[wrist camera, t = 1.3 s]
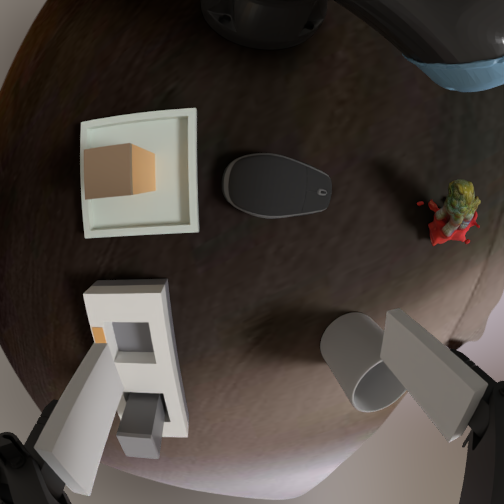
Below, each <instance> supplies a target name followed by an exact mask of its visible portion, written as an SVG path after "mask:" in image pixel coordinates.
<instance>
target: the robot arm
mask: <svg viewBox="0 0 504 504" xmlns="http://www.w3.org/2000/svg"><path fill="white" fill-rule="evenodd" d="M334 1H336V2H337V3H339V4H340V5H342V6H343V7H345V8H346V9H347V10H349V11H350V12H352V13H353V14H355V15H356V16H357V17H359V18H360V19H362V20H363V21H364V22H366V23H367V24H368V25H370V26H371V27H372V28H374V29H375V30H376V31H377V32H379V33H380V34H381V35H382V36H384V37H385V38H386V39H387V40H388V41H390V42H391V43H392V44H393V45H394V46H395V47H396V48H397V49H399V50H400V51H401V52H402V55H403V56H404V57H405V58H406V59H407V60H408V61H410V62H411V63H413V64H415V65H416V66H417V67H419V68H420V69H421V70H422V71H423V72H424V73H425V74H426V75H427V76H428V77H430V78H431V79H432V80H433V81H434V82H435V83H436V84H438V85H440V86H441V87H443V88H446V89H449V90H457V91H459V92H476V91H482V90H487V89H490V88H494V87H496V86H499V85H502V84H504V0H334ZM201 10H202V14H203V16H204V18H205V20H206V22H207V23H208V24H209V26H210V27H211V28H212V29H213V30H214V31H215V32H217V33H218V34H219V35H221V36H222V37H224V38H226V39H227V40H229V41H231V42H234V43H236V44H239V45H242V46H246V47H250V48H255V49H264V50H275V49H284V48H289V47H293V46H296V45H298V44H300V43H302V42H304V41H306V40H307V39H309V38H310V37H311V36H312V35H313V34H314V33H315V32H316V31H317V29H318V28H319V27H320V25H321V24H322V22H323V21H324V18H325V16H326V12H327V0H201ZM380 358H381V359H382V360H383V361H384V363H385V364H386V365H387V366H388V368H389V369H390V370H391V371H392V372H393V374H394V375H395V376H396V377H397V378H398V380H399V381H400V382H401V383H402V385H403V386H404V387H405V388H406V390H407V391H408V392H409V393H410V394H411V396H412V397H413V398H414V399H415V400H416V402H417V403H418V404H419V406H420V407H421V408H422V409H423V411H424V412H425V413H426V414H427V416H428V417H429V418H430V419H431V421H432V422H433V423H434V425H435V426H436V427H437V428H438V430H439V431H440V432H441V434H442V435H443V436H444V437H445V439H446V440H447V441H448V443H449V442H451V441H453V440H454V439H456V438H458V437H460V436H461V435H462V434H463V433H464V431H465V429H466V428H467V426H468V425H469V426H470V427H471V429H472V430H471V431H470V433H469V435H468V436H467V438H466V440H465V441H464V443H463V446H462V447H465V445H466V444H467V442H468V441H469V443H468V452H467V462H466V468H465V475H464V482H463V487H462V492H461V497H460V502H459V504H504V381H500V382H498V383H497V382H495V381H494V380H493V379H492V378H491V377H490V376H489V375H487V374H486V373H485V372H484V371H483V370H482V369H480V368H479V367H478V366H476V365H475V363H474V362H472V361H470V359H469V358H468V357H466V356H465V355H464V354H463V353H461V352H459V351H457V350H455V349H450V350H449V349H448V348H447V347H446V346H445V345H443V344H442V343H441V342H440V341H439V340H438V339H436V338H435V337H434V336H433V335H432V334H430V333H429V332H428V331H427V330H426V329H424V328H423V327H422V326H421V325H420V324H418V323H417V322H416V321H415V320H413V319H412V318H411V317H410V316H409V315H407V314H406V313H405V312H404V311H402V310H401V309H400V308H398V309H394V310H389V311H387V314H386V322H385V329H384V336H383V342H382V348H381V354H380ZM123 391H124V386H123V384H122V381H121V379H120V376H119V374H118V371H117V368H116V366H115V363H114V360H113V357H112V355H111V352H110V349H109V346H108V343H93V345H92V346H91V348H90V350H89V351H88V353H87V354H86V356H85V358H84V359H83V361H82V362H81V364H80V366H79V367H78V369H77V370H76V372H75V374H74V375H73V377H72V379H71V380H70V382H69V384H68V386H67V387H66V389H65V391H64V392H63V394H62V396H61V398H60V399H59V400H53V401H51V402H50V403H49V404H48V405H47V406H46V407H45V408H44V410H43V412H42V414H41V417H39V419H38V421H37V424H35V426H34V428H33V430H32V431H31V433H30V435H29V437H28V439H27V441H26V443H25V445H23V444H22V443H21V441H20V440H19V439H18V438H17V436H16V435H14V434H13V433H10V432H4V433H1V434H0V504H71V502H70V500H69V498H68V496H67V494H66V493H65V492H64V491H63V489H64V486H65V484H66V485H67V486H68V487H69V489H71V491H72V492H75V493H79V494H83V495H87V496H90V494H91V491H92V487H93V483H94V480H95V476H96V473H97V469H98V466H99V463H100V459H101V456H102V453H103V450H104V446H105V443H106V440H107V437H108V434H109V431H110V428H111V425H112V422H113V419H114V416H115V413H116V410H117V408H118V405H119V402H120V399H121V396H122V393H123Z"/></svg>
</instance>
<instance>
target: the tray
mask: <svg viewBox="0 0 504 504" xmlns="http://www.w3.org/2000/svg"><path fill="white" fill-rule="evenodd" d="M125 143H131V144H133V145H136V146H138V147H140V148H143V149H145V150H147V151H150V152H152V153H154V154H155V180H156V191H151V192H146V193H140V194H135V195H128V196H117V197H106V198H97V199H87V200H85V190H84V149H90V148H96V147H103V146H110V145H117V144H125ZM80 176H81V199H82V213H83V224H84V234H85V238H98V237H114V236H132V235H150V234H169V233H191V232H198V231H199V212H198V180H197V110H196V108H187V109H173V110H162V111H152V112H143V113H134V114H127V115H120V116H113V117H107V118H101V119H96V120H90V121H85V122H81V137H80Z"/></svg>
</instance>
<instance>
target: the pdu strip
mask: <svg viewBox="0 0 504 504" xmlns="http://www.w3.org/2000/svg"><path fill="white" fill-rule="evenodd" d="M83 297H84V302H85V306H86V311H87V315H88V319H89V324H90V328H91V332H92V335H93V339H94V343H108V346H109V349H110V352H111V355H112V357H113V360H114V363H115V366H116V368H117V371H118V374H119V376H120V379H121V381H122V384H123V386H124V391H123V393H122V396H121V399H120V402H119V405H118V408H117V412H118V414H119V417H120V419H121V418H122V415H123V412H124V409H125V406H126V403H127V400H128V397H129V394H130V392H137V393H163V394H164V399H165V402H166V406H167V407H166V413H165V420H164V426H163V433H162V437H188V425H189V413H188V409H187V404H186V399H185V394H184V389H183V383H182V378H181V372H180V366H179V360H178V354H177V348H176V341H175V335H174V328H173V320H172V313H171V305H170V296H169V288H168V279H136V280H97V281H96V282H95V283H94V284H93V285H92V286H91V287H90V288H89V289H88V290H86V291H85V292H84V293H83Z"/></svg>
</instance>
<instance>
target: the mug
mask: <svg viewBox="0 0 504 504" xmlns="http://www.w3.org/2000/svg"><path fill="white" fill-rule="evenodd" d="M383 336H384V331H383V330H382V329H381V328H380V327H379V326H378V325H377V324H376V323H375V322H374V321H373V320H372V319H371V318H370V317H369V316H367V315H365V314H363V313H358V312H353V313H348V314H345V315H342V316H340V317H339V318H337V319H336V320H334V321H333V322H332V323H331V324H330V325H329V326H328V327H327V329H326V330H325V332H324V334H323V336H322V338H321V342H320V350H321V354H322V356H323V358H324V360H325V361H326V363H327V364H328V366H329V367H330V369H331V371H332V372H333V374H334V376H335V377H336V379H337V381H338V382H339V384H340V386H341V387H342V389H343V391H344V392H345V394H346V396H347V397H348V399H349V401H350V402H351V404H352V405H353V406H354V407H355V408H356V409H357V410H359V411H362V412H374V411H378V410H381V409H383V408H385V407H387V406H389V405H391V404H392V403H394V402H395V401H396V400H397V399H399V398H400V397H401V396H402V395H403V394H404V392H405V391H406V388H405V387H404V386H403V385H402V383H401V382H400V381H399V380H398V378H397V377H396V376H395V375H394V374H393V372H392V371H391V370H390V369H389V368H388V366H387V365H386V364H385V363H384V361H383V360H382V359H381V358H380V354H381V348H382V342H383Z"/></svg>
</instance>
